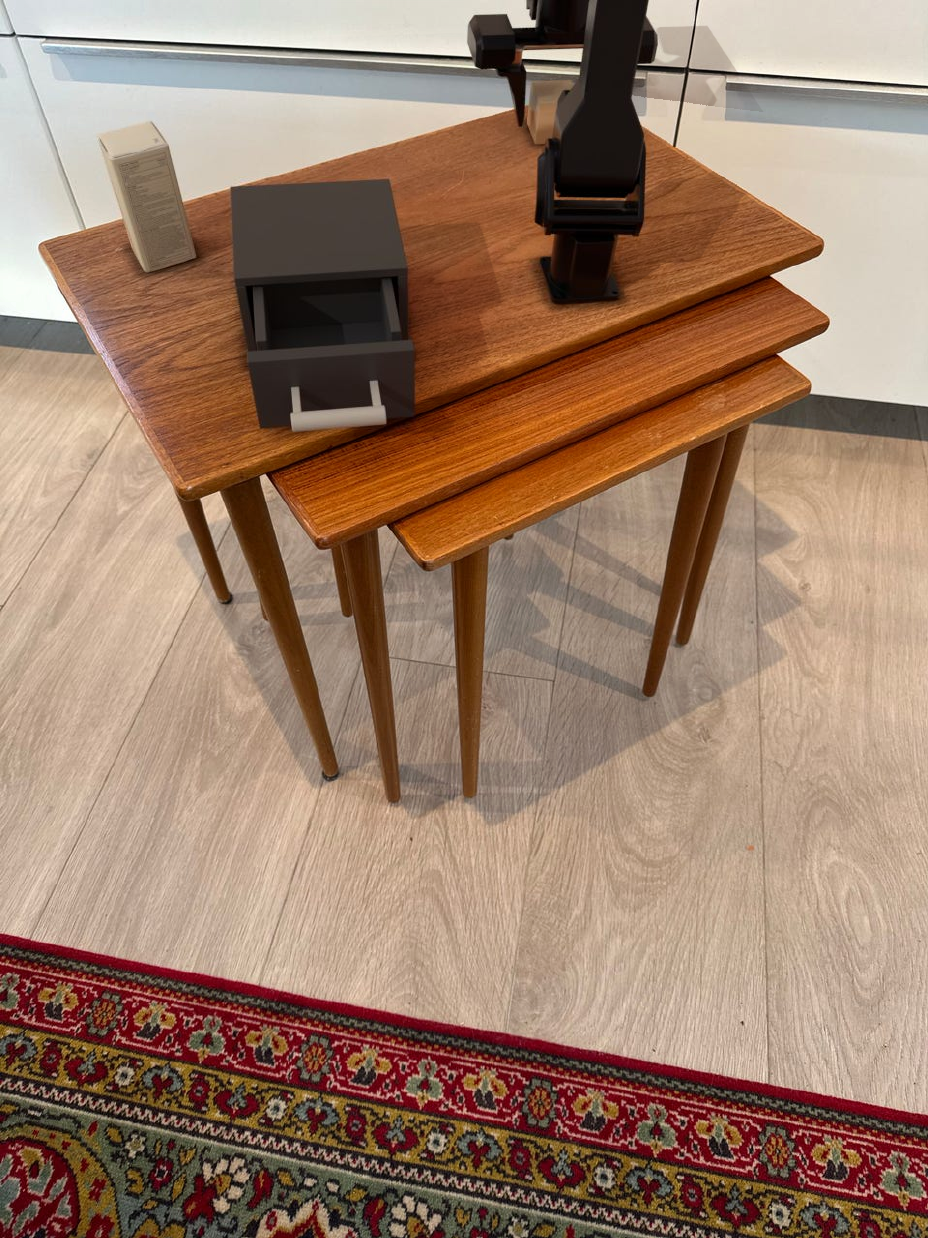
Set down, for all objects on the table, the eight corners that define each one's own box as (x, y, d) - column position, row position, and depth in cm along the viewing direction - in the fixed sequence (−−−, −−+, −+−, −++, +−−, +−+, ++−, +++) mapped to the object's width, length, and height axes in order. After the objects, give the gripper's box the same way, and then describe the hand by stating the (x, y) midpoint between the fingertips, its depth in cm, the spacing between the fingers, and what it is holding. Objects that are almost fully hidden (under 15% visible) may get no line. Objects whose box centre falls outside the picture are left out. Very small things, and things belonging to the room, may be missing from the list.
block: (575, 142, 100) (581, 100, 96) (534, 144, 100) (539, 102, 96) (565, 121, 103) (571, 79, 99) (526, 122, 102) (530, 80, 98)
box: (182, 234, 88) (155, 118, 79) (198, 259, 86) (172, 142, 77) (128, 249, 86) (94, 131, 77) (143, 274, 84) (110, 157, 75)
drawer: (421, 454, 72) (422, 388, 66) (262, 468, 71) (248, 401, 65) (397, 324, 81) (396, 256, 75) (254, 334, 79) (242, 265, 73)
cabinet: (408, 353, 80) (407, 267, 73) (250, 365, 78) (233, 278, 71) (391, 264, 87) (389, 178, 80) (245, 273, 85) (230, 185, 78)
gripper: (643, -78, 93) (615, 83, 106) (461, -75, 90) (456, 89, 103) (674, -30, 87) (641, 134, 100) (481, -25, 84) (472, 142, 97)
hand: (551, 123), depth 100 cm, fingers open, 7 cm apart
